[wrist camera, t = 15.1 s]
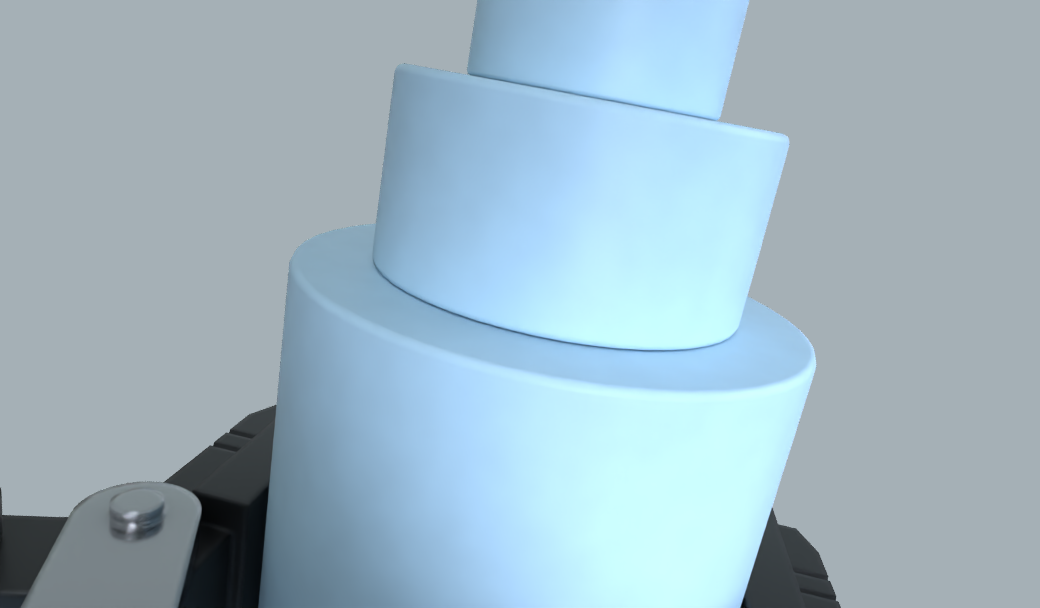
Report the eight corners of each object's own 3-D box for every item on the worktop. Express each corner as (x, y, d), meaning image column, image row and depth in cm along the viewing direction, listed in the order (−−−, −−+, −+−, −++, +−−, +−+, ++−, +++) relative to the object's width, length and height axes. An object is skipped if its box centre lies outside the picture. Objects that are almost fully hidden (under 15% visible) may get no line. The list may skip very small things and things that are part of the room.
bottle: (574, 956, 14) (891, -160, 9) (537, 1458, 9) (1277, -566, 4) (306, 874, 15) (448, -224, 9) (122, 1301, 10) (199, -660, 4)
